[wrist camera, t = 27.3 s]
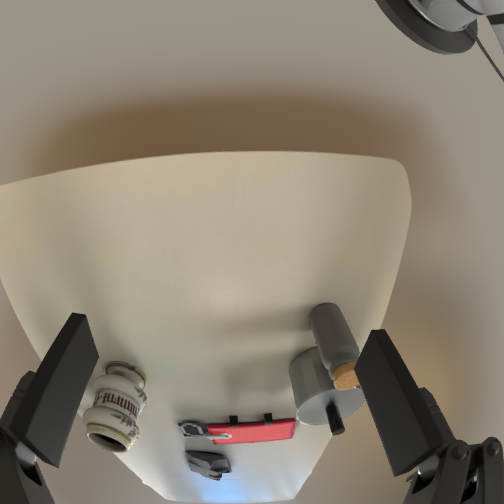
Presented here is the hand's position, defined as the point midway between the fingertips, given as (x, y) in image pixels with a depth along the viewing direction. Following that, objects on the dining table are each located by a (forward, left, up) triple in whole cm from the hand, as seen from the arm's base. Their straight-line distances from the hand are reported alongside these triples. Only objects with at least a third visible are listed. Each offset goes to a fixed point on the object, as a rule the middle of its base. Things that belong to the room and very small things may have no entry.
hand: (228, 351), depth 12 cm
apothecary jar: (+21, +41, -29) cm, 54 cm away
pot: (-20, +34, -29) cm, 49 cm away
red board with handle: (-5, +61, -29) cm, 68 cm away
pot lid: (-20, +34, -18) cm, 43 cm away
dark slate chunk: (+3, +89, -29) cm, 94 cm away
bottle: (-18, +20, -29) cm, 40 cm away
